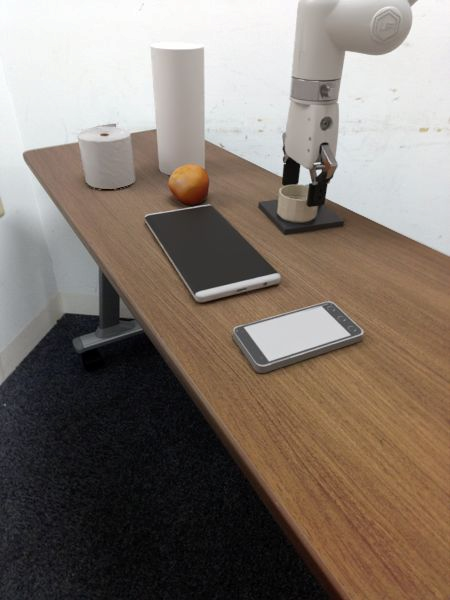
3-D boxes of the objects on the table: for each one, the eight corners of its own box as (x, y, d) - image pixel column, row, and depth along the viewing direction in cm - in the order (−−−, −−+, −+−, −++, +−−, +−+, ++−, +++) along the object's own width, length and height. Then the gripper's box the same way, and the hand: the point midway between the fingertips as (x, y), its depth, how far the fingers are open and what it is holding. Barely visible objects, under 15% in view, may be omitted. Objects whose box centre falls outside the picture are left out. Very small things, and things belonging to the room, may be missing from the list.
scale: (312, 199, 87) (315, 186, 85) (344, 226, 78) (347, 211, 76) (257, 207, 84) (258, 192, 82) (284, 235, 75) (286, 219, 73)
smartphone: (366, 333, 52) (258, 368, 47) (364, 339, 53) (258, 374, 48) (331, 300, 58) (230, 328, 52) (329, 306, 58) (230, 334, 53)
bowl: (304, 205, 82) (307, 182, 80) (323, 221, 77) (327, 197, 74) (270, 209, 80) (272, 186, 78) (287, 226, 75) (290, 202, 72)
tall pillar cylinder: (170, 179, 94) (162, 49, 79) (152, 164, 102) (142, 43, 87) (212, 172, 98) (213, 47, 83) (192, 158, 106) (190, 41, 91)
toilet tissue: (94, 194, 87) (85, 144, 81) (78, 175, 95) (69, 128, 89) (143, 185, 91) (138, 137, 85) (124, 167, 99) (118, 122, 93)
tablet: (197, 306, 58) (196, 296, 57) (143, 222, 77) (142, 213, 76) (282, 285, 62) (283, 275, 61) (211, 211, 82) (211, 202, 81)
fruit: (225, 194, 85) (207, 163, 79) (196, 220, 84) (176, 192, 78) (203, 180, 90) (185, 151, 84) (176, 205, 89) (156, 178, 83)
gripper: (367, 100, 60) (346, 211, 71) (309, 78, 73) (298, 175, 84) (320, 103, 58) (305, 217, 69) (269, 81, 71) (263, 179, 82)
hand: (302, 194), depth 76 cm, fingers open, 9 cm apart
